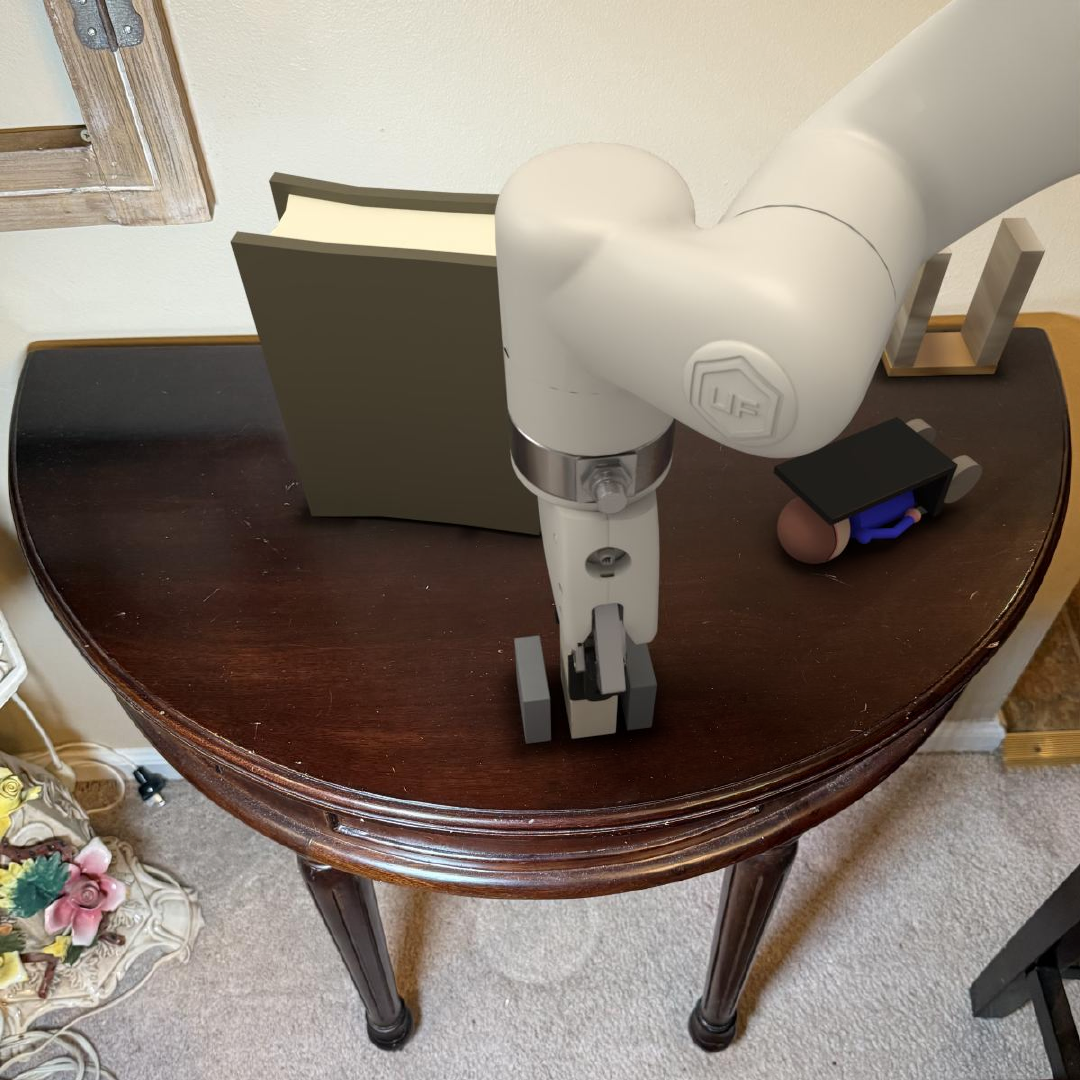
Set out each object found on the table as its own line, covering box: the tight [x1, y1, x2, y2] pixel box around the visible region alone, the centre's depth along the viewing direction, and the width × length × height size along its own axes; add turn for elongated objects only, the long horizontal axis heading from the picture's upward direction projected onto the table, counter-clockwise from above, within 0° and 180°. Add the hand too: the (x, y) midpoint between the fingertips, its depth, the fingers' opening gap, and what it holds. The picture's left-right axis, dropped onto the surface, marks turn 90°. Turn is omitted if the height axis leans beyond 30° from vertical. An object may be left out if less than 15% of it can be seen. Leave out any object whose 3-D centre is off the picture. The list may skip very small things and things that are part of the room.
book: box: [229, 171, 542, 536], centre depth 66 cm, size 18×8×24 cm, turn 81°
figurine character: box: [773, 416, 983, 565], centre depth 70 cm, size 7×8×15 cm
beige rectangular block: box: [559, 625, 619, 740], centre depth 58 cm, size 3×5×11 cm, turn 8°
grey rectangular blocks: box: [513, 632, 658, 744], centre depth 61 cm, size 8×5×5 cm, turn 98°
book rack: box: [880, 217, 1046, 378], centre depth 80 cm, size 9×5×12 cm, turn 91°
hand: (588, 653), depth 58 cm, fingers closed on beige rectangular block, 4 cm apart
